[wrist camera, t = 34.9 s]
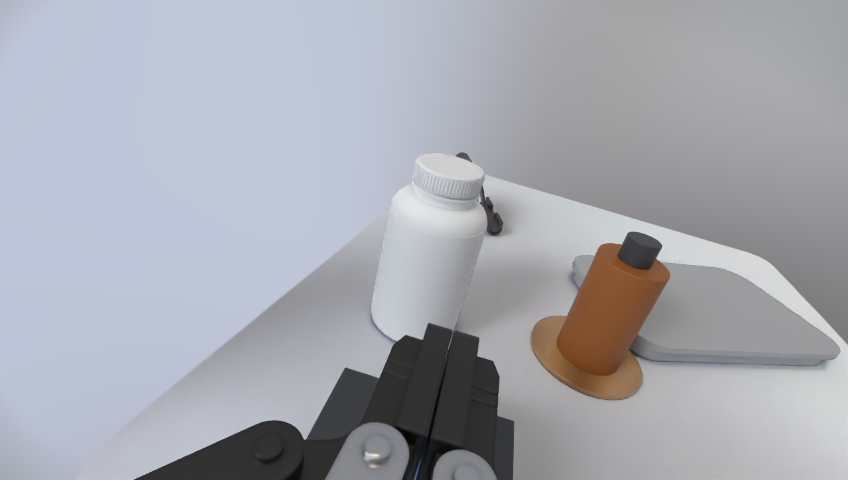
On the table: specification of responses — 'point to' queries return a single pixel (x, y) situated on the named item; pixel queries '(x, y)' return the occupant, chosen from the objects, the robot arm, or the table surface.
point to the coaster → (593, 385)
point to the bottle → (613, 304)
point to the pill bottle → (429, 247)
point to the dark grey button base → (354, 399)
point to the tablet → (722, 321)
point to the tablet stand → (487, 208)
